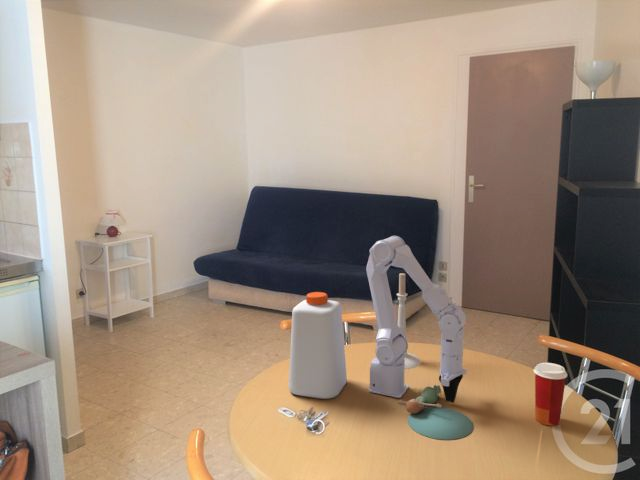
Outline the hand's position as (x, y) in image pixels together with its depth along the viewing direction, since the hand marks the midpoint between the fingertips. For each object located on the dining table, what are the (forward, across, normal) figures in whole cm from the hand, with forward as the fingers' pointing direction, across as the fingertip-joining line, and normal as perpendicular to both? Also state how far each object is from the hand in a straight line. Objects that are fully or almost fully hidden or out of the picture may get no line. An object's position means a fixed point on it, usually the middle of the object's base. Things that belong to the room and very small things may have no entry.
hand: (450, 400), depth 142 cm
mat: (+1, -11, 0) cm, 11 cm away
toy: (-1, +3, +4) cm, 5 cm away
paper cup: (+1, +2, -24) cm, 24 cm away
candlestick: (+1, +22, +21) cm, 30 cm away
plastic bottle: (+1, -6, +37) cm, 37 cm away
